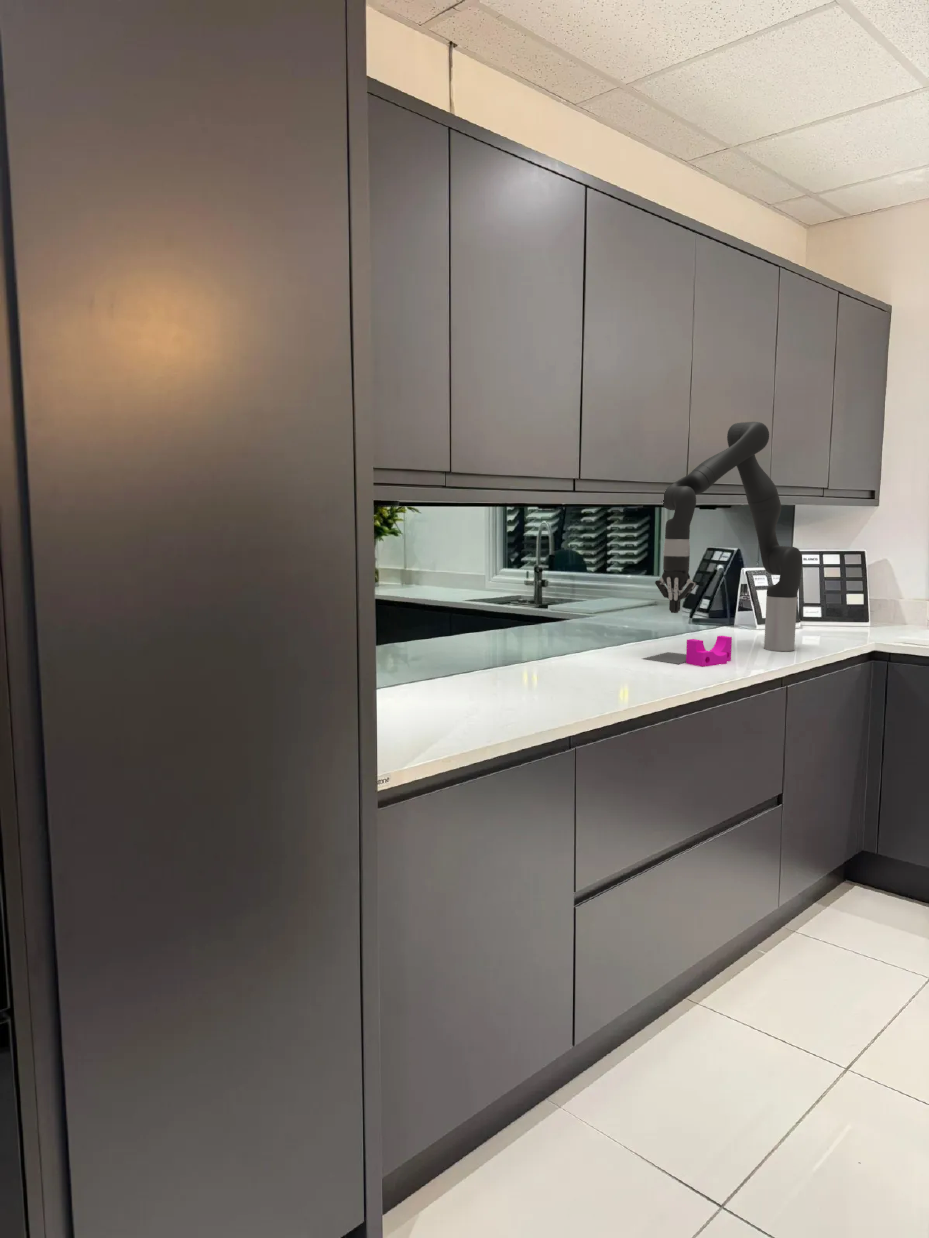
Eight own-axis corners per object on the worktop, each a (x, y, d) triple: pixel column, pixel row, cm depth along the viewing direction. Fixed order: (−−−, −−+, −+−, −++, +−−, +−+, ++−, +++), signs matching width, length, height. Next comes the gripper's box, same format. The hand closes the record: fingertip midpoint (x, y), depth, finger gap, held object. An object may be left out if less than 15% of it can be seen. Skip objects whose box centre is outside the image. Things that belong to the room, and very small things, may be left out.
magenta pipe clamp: (702, 668, 248) (703, 642, 247) (685, 665, 253) (686, 639, 252) (737, 663, 256) (738, 638, 255) (720, 660, 261) (721, 635, 260)
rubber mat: (667, 654, 270) (667, 652, 270) (703, 658, 262) (703, 656, 262) (641, 660, 258) (641, 658, 258) (678, 665, 250) (678, 663, 250)
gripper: (703, 555, 255) (700, 613, 257) (662, 553, 263) (660, 609, 265) (691, 555, 249) (689, 615, 251) (650, 554, 258) (648, 612, 260)
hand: (674, 612), depth 258 cm, fingers closed
